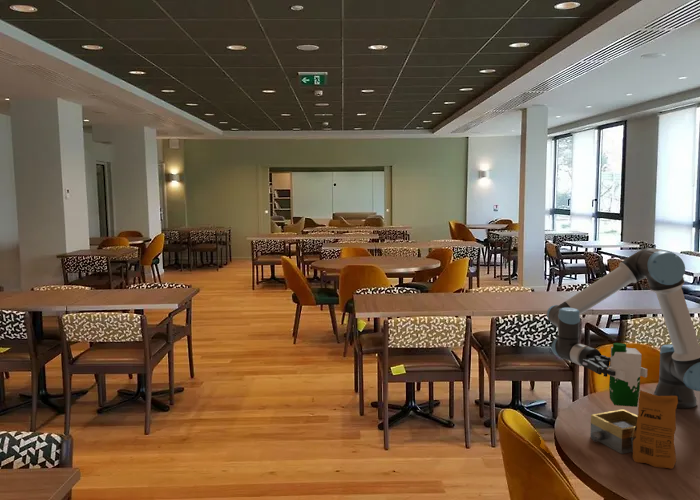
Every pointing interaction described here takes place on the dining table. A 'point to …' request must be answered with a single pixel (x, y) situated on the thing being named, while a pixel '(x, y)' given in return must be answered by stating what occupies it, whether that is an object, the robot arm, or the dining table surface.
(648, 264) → the robot arm
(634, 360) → the soya milk
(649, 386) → the dining table surface
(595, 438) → the open square tray
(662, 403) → the coffee package
